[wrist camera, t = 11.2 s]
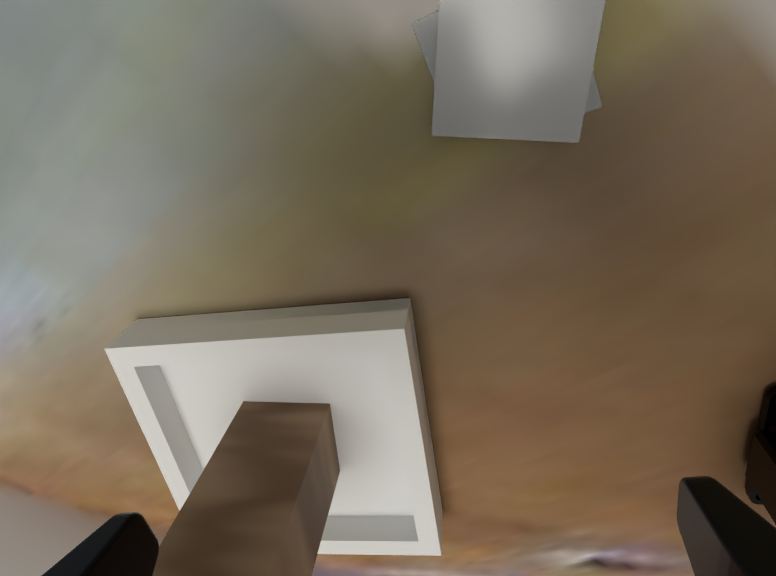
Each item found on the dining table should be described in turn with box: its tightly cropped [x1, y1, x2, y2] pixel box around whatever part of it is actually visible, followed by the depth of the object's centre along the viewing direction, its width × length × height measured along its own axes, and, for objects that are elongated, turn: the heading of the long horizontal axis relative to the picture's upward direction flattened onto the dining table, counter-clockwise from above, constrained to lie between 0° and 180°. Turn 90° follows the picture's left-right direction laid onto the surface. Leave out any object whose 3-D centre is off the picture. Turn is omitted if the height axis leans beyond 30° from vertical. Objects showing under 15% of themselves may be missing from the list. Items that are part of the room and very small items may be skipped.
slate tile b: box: [432, 0, 606, 143], centre depth 17 cm, size 5×5×1 cm
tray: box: [105, 298, 443, 556], centre depth 25 cm, size 13×13×2 cm
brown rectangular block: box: [153, 401, 340, 576], centre depth 20 cm, size 4×4×11 cm
